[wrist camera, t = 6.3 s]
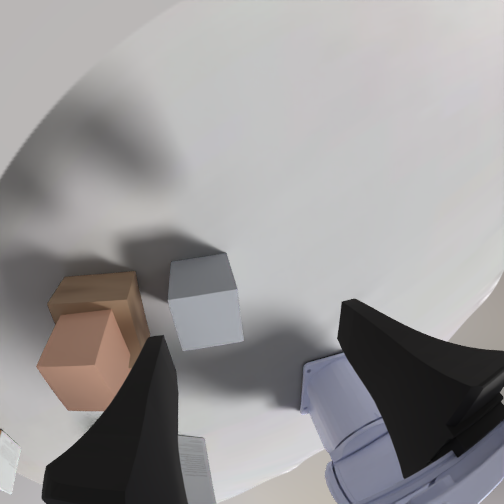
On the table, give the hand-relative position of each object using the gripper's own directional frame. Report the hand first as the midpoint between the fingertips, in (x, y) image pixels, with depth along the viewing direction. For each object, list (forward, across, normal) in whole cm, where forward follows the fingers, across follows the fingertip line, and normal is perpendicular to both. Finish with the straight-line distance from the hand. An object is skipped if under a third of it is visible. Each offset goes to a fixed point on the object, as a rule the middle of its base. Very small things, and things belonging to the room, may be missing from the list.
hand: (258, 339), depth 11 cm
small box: (+11, +44, +28) cm, 53 cm away
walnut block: (+11, +10, +4) cm, 15 cm away
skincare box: (+11, +9, +27) cm, 30 cm away
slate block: (+10, +2, +3) cm, 11 cm away
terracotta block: (+7, +10, +4) cm, 13 cm away
